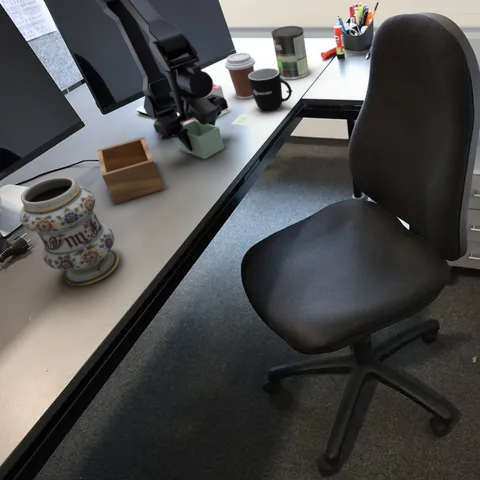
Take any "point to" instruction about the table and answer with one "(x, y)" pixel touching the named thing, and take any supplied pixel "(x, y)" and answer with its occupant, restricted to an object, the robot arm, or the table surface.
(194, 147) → the bin
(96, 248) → the apothecary jar
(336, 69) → the table surface
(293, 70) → the coffee can
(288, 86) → the mug
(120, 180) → the crate
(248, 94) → the coffee cup
